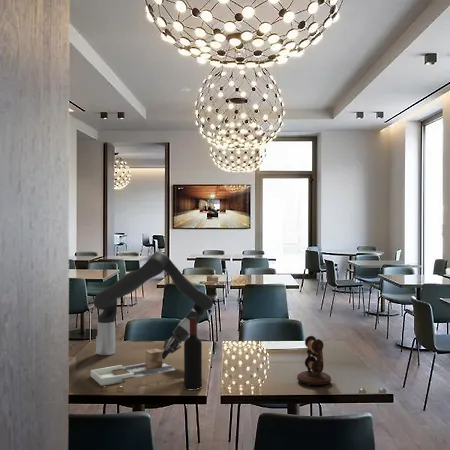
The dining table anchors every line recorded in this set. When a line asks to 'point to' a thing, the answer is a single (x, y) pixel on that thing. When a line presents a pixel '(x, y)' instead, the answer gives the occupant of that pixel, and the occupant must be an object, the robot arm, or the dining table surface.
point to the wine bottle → (192, 359)
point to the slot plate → (143, 370)
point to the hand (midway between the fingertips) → (161, 358)
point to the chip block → (153, 358)
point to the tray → (109, 375)
